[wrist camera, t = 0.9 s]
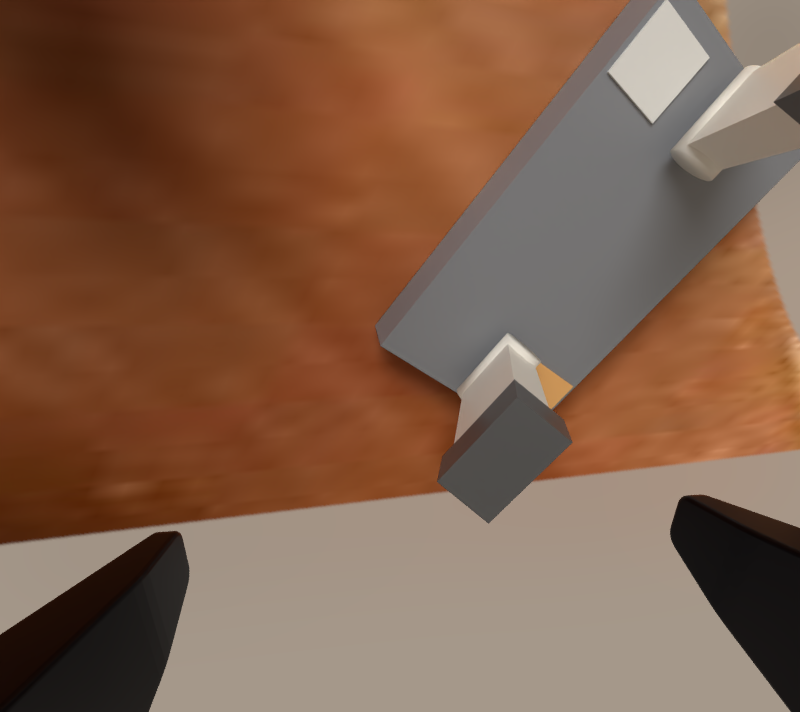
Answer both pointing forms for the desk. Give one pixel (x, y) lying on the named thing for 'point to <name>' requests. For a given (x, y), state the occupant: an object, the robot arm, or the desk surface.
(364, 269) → the desk surface
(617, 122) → the switch base
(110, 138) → the desk surface
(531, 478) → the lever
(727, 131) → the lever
